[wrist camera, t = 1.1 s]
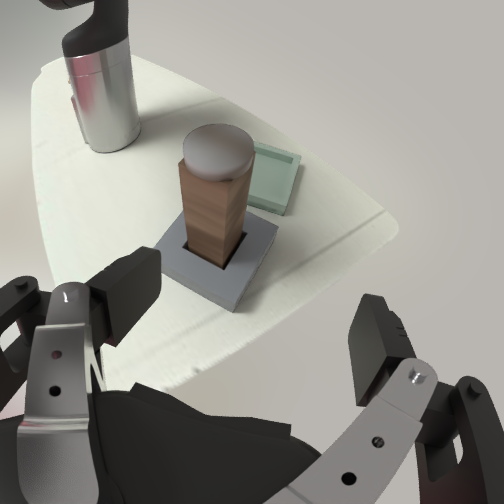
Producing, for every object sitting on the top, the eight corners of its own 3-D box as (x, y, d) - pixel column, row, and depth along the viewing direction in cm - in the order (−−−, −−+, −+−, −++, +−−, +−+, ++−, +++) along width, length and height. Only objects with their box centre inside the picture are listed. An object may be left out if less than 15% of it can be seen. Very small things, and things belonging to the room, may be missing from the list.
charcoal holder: (232, 312, 29) (234, 304, 26) (153, 267, 30) (148, 254, 27) (273, 240, 33) (278, 226, 31) (201, 204, 35) (200, 189, 32)
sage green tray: (208, 192, 36) (208, 182, 34) (234, 146, 41) (235, 136, 39) (283, 215, 35) (286, 206, 34) (298, 165, 40) (301, 156, 38)
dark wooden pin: (223, 279, 30) (231, 179, 16) (185, 258, 30) (168, 152, 17) (244, 245, 32) (265, 138, 19) (207, 226, 33) (208, 117, 19)
